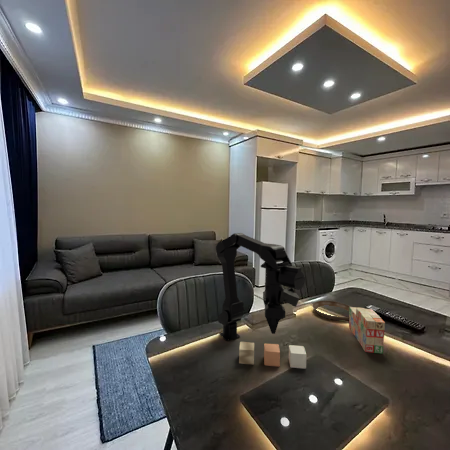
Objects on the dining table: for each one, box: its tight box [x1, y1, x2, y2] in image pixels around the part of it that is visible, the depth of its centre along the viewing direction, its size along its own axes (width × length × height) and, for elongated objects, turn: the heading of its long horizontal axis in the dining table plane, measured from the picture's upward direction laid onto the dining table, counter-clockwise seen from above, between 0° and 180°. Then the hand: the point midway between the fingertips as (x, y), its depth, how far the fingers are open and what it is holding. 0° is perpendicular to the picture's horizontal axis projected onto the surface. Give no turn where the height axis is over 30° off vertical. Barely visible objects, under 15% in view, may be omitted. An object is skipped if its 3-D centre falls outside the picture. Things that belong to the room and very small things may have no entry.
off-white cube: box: [288, 344, 307, 369], centre depth 86 cm, size 5×5×5 cm
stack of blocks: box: [348, 306, 386, 354], centre depth 103 cm, size 21×6×12 cm, turn 169°
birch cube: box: [238, 341, 255, 366], centre depth 88 cm, size 5×5×5 cm
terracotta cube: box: [263, 343, 281, 367], centre depth 87 cm, size 5×5×5 cm
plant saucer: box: [311, 300, 352, 321], centre depth 129 cm, size 21×21×3 cm
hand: (272, 327), depth 86 cm, fingers open, 9 cm apart
